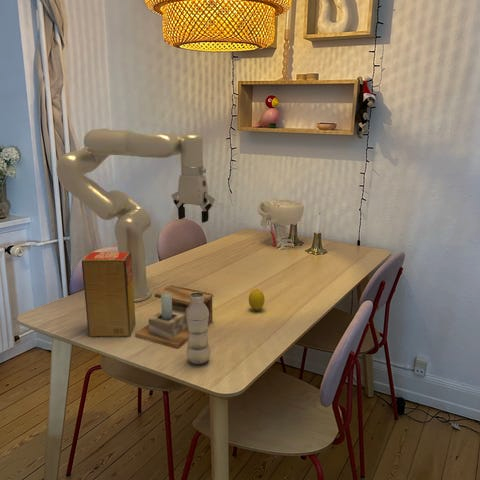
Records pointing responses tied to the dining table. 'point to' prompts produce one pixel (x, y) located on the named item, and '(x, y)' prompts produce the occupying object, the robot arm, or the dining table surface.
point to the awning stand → (173, 318)
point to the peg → (166, 306)
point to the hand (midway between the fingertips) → (193, 220)
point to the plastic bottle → (197, 329)
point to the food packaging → (109, 293)
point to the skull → (280, 218)
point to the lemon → (256, 299)
